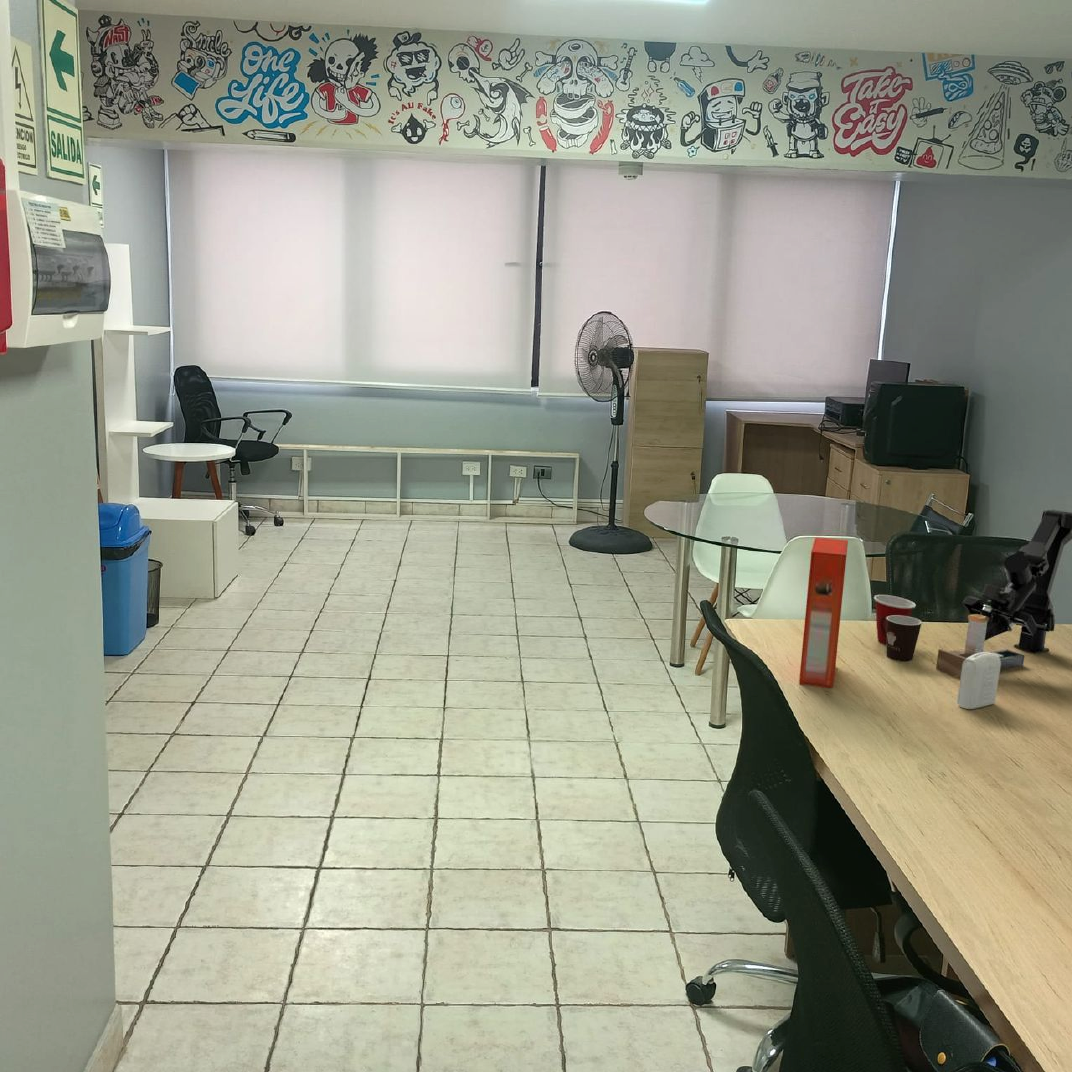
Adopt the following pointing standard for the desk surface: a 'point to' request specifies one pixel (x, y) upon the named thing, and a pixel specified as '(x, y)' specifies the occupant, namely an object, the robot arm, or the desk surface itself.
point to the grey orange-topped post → (976, 635)
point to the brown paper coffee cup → (901, 636)
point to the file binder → (823, 612)
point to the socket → (951, 661)
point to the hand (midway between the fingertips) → (980, 640)
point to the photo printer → (979, 680)
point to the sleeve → (1010, 659)
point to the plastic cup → (890, 611)
